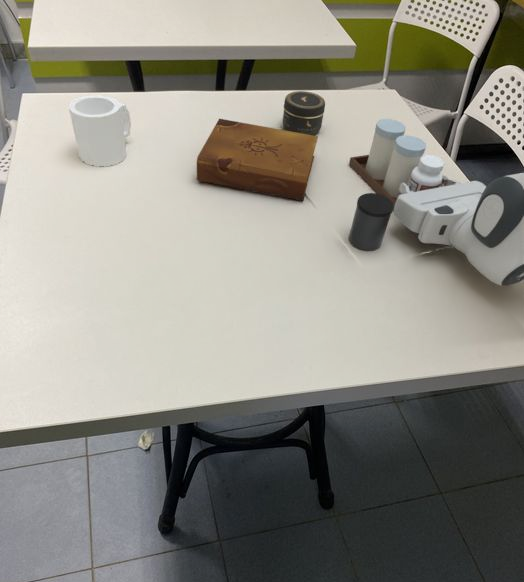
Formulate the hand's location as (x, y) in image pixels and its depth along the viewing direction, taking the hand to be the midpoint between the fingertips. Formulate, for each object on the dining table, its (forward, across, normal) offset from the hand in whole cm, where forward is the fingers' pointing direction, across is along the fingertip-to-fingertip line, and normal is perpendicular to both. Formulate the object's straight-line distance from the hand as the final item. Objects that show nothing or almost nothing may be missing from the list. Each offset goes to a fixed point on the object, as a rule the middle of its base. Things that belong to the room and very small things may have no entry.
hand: (421, 182), depth 100 cm
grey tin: (-7, +16, +7) cm, 19 cm away
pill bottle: (-1, 0, +6) cm, 6 cm away
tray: (+7, 0, +7) cm, 9 cm away
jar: (+38, +8, +7) cm, 40 cm away
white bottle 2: (+7, 0, +6) cm, 9 cm away
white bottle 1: (+14, 0, +6) cm, 15 cm away
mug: (+39, +56, +7) cm, 69 cm away
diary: (+23, +26, +7) cm, 36 cm away
